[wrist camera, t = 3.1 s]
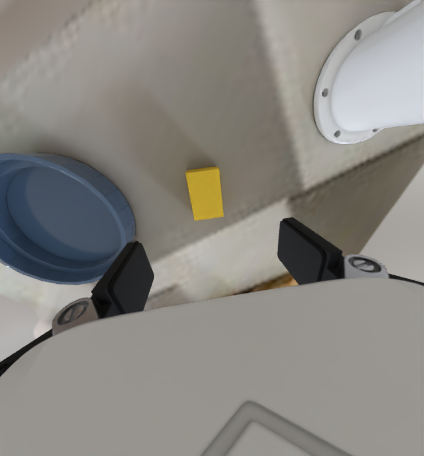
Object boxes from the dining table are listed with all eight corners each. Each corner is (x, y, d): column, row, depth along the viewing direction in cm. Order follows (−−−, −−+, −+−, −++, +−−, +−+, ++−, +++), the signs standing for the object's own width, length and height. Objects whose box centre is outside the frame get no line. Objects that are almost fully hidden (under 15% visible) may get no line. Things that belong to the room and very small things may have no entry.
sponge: (186, 170, 23) (185, 172, 20) (216, 166, 23) (219, 168, 21) (194, 213, 26) (194, 220, 24) (220, 209, 26) (223, 216, 24)
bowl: (-13, 125, 19) (-70, 119, 15) (147, 185, 24) (137, 192, 20) (6, 249, 26) (-29, 267, 22) (125, 276, 31) (115, 295, 27)
